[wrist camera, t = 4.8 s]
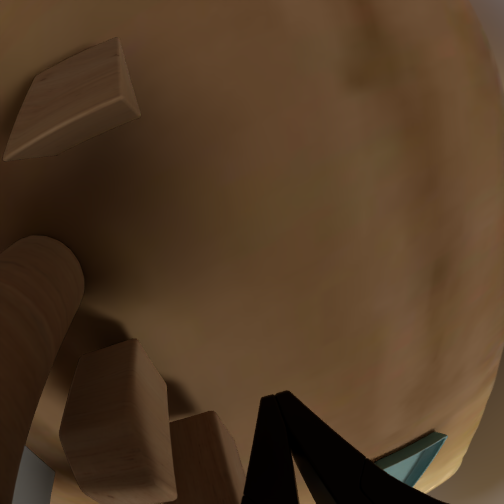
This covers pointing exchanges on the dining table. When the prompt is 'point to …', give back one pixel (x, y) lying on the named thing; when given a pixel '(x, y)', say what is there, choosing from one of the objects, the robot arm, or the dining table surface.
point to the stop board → (33, 480)
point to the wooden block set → (103, 360)
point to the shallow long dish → (413, 459)
